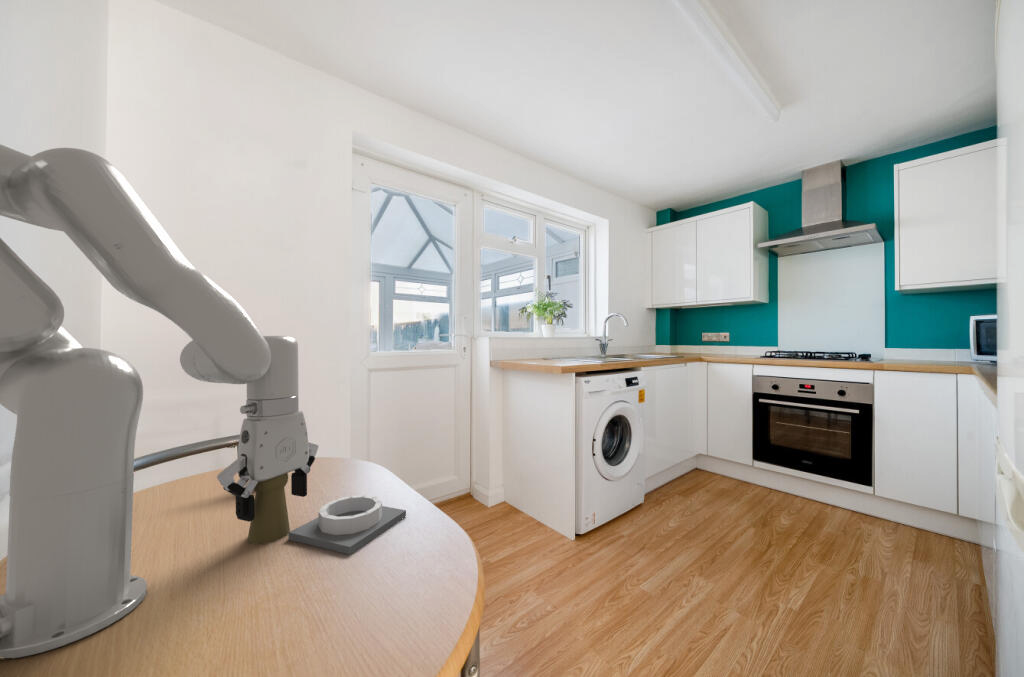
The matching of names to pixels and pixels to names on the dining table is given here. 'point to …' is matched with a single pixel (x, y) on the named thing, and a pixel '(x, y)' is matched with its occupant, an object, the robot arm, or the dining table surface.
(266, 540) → the cork
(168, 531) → the dining table surface
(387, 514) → the mat
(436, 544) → the dining table surface
